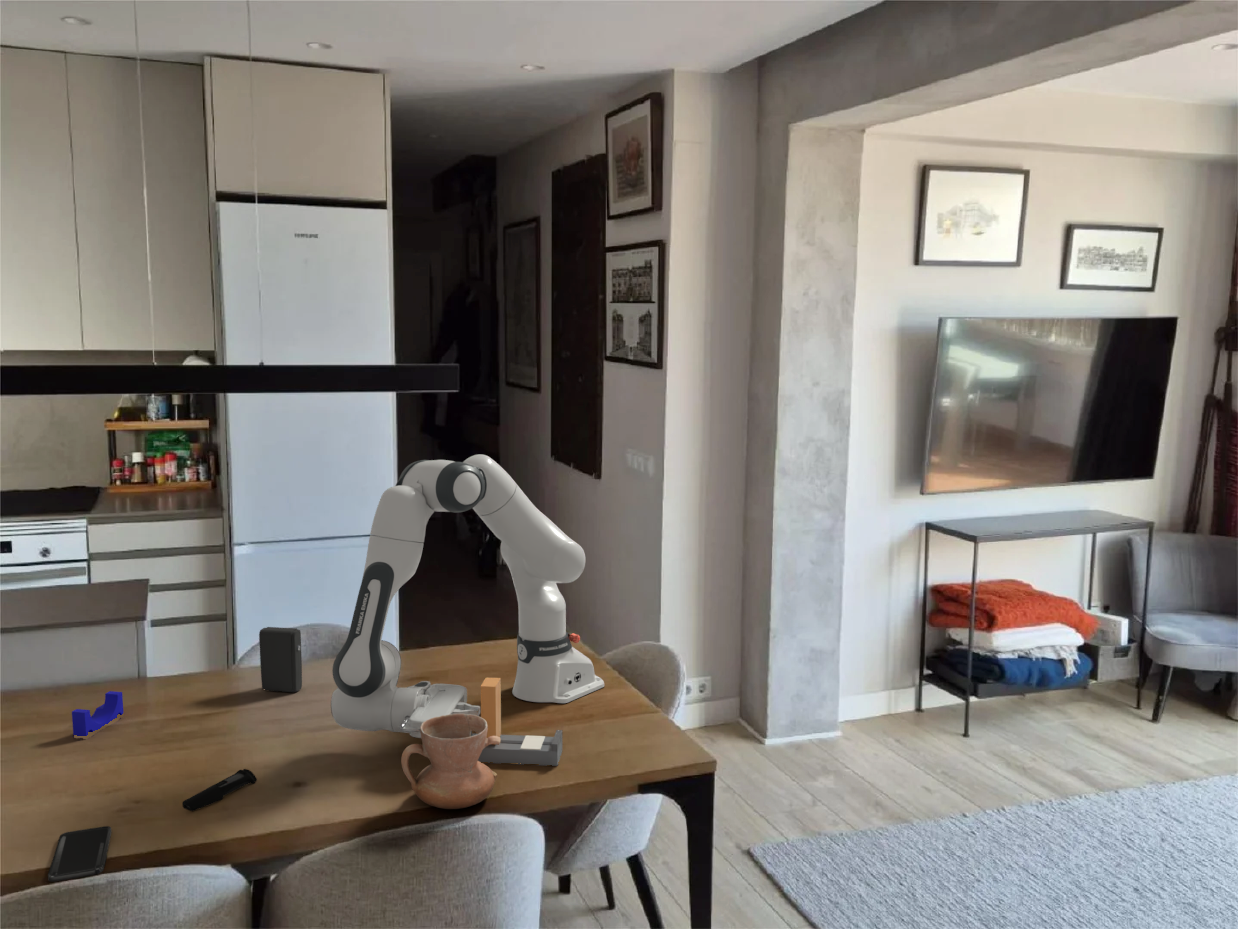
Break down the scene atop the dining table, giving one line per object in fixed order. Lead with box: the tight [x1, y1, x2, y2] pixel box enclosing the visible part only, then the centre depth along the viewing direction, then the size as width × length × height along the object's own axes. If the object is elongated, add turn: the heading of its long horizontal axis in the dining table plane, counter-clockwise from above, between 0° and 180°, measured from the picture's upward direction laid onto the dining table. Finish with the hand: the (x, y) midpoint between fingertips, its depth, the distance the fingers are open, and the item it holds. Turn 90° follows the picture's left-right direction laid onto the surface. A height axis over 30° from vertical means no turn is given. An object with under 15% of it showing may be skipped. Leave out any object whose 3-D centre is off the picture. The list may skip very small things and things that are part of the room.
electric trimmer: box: [181, 768, 258, 812], centre depth 185 cm, size 4×16×3 cm, turn 154°
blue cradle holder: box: [71, 690, 124, 736], centre depth 216 cm, size 12×4×6 cm, turn 170°
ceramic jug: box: [400, 714, 501, 810], centre depth 184 cm, size 18×14×14 cm
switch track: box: [471, 729, 563, 767], centre depth 203 cm, size 20×7×4 cm, turn 85°
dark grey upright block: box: [258, 626, 303, 693], centre depth 238 cm, size 9×4×15 cm, turn 82°
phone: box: [47, 825, 112, 883], centre depth 165 cm, size 8×1×15 cm
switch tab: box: [480, 677, 502, 738], centre depth 203 cm, size 3×5×12 cm, turn 175°
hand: (478, 712), depth 203 cm, fingers closed
